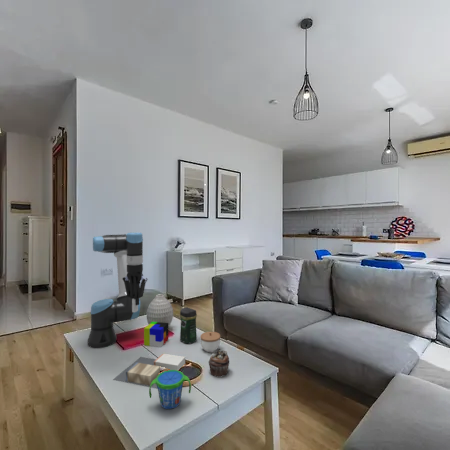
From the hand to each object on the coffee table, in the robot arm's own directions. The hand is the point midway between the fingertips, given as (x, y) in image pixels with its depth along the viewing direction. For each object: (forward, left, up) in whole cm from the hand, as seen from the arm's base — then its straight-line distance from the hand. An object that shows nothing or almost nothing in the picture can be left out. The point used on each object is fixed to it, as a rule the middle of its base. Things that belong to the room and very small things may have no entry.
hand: (135, 311), depth 137 cm
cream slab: (+14, -2, -22) cm, 26 cm away
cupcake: (+43, +2, -25) cm, 50 cm away
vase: (-7, +36, -25) cm, 44 cm away
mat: (+14, -8, -24) cm, 29 cm away
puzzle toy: (0, +20, -25) cm, 32 cm away
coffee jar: (+16, +28, -25) cm, 41 cm away
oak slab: (+7, -13, -22) cm, 27 cm away
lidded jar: (+32, +21, -25) cm, 46 cm away
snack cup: (+32, -24, -25) cm, 47 cm away
